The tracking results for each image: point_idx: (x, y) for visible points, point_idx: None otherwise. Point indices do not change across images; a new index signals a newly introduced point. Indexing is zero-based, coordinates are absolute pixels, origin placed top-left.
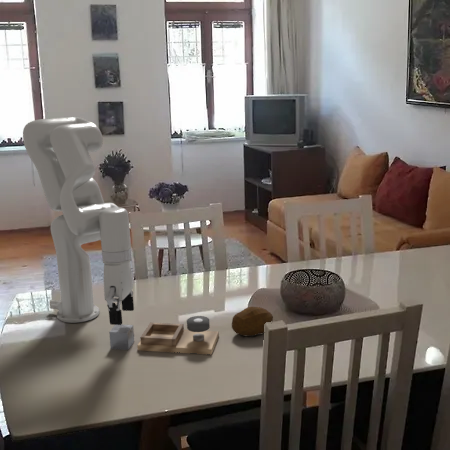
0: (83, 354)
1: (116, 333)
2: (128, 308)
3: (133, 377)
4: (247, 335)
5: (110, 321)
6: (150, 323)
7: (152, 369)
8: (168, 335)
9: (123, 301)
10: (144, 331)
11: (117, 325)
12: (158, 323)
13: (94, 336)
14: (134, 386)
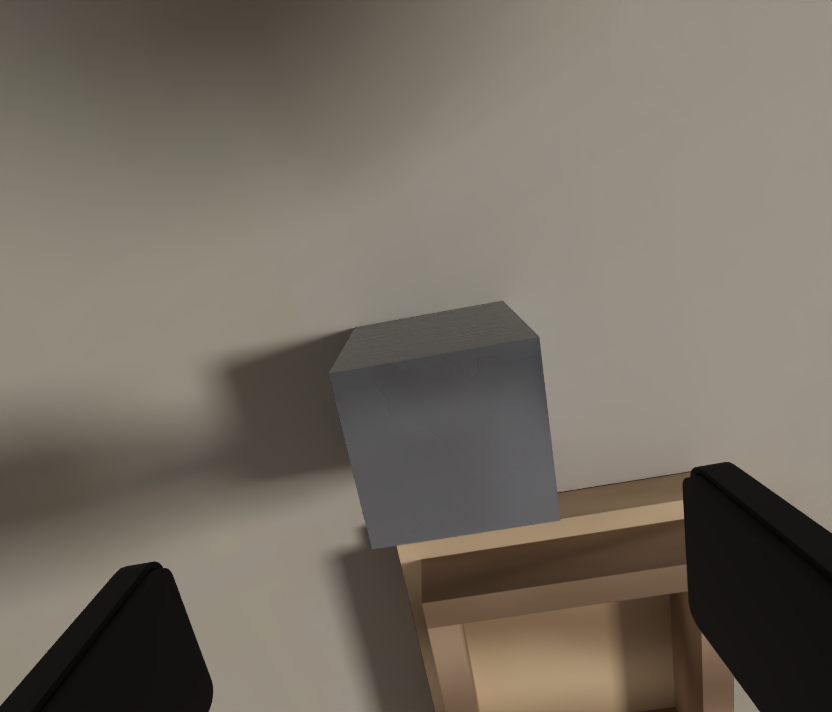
0: (183, 161)
1: (347, 441)
2: (706, 587)
3: None
4: None
5: (103, 603)
6: None
7: None
8: (607, 666)
9: (809, 618)
10: (536, 587)
11: (511, 372)
12: None
13: (530, 47)
14: (5, 680)
